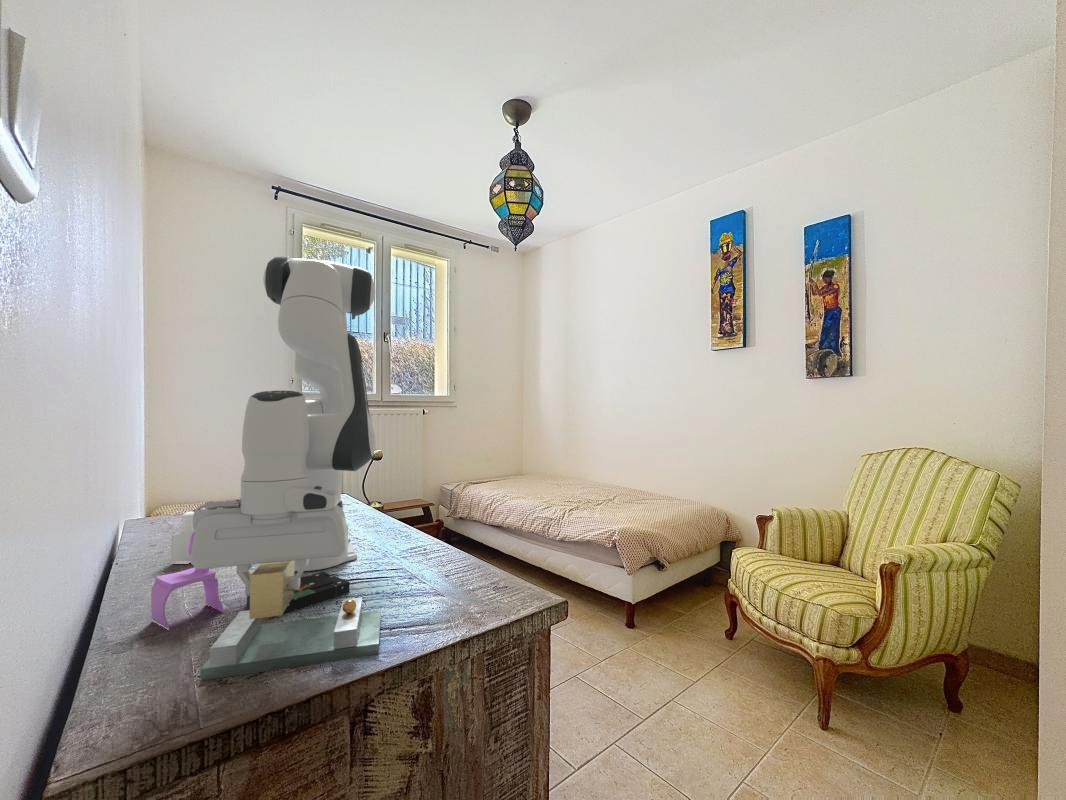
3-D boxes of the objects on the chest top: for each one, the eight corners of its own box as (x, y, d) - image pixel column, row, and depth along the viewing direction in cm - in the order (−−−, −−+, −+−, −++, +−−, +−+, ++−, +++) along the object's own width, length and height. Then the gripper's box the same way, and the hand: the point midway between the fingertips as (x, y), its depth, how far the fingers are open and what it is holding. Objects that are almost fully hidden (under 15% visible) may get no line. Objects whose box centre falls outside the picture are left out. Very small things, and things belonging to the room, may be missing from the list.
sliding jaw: (343, 614, 74) (343, 587, 75) (362, 611, 75) (362, 585, 76) (333, 649, 63) (334, 617, 63) (356, 646, 64) (356, 614, 64)
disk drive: (322, 584, 94) (245, 607, 82) (323, 571, 94) (245, 592, 82) (350, 595, 88) (271, 622, 76) (351, 581, 88) (271, 605, 76)
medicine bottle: (190, 556, 112) (191, 508, 113) (220, 555, 113) (221, 507, 113) (170, 565, 105) (172, 514, 105) (202, 564, 106) (204, 513, 106)
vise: (232, 638, 70) (232, 612, 70) (380, 619, 76) (381, 595, 76) (200, 680, 58) (201, 649, 58) (378, 654, 65) (378, 626, 65)
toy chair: (146, 621, 76) (149, 532, 76) (205, 603, 83) (208, 522, 84) (166, 633, 71) (169, 538, 72) (227, 613, 79) (229, 527, 79)
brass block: (249, 619, 62) (250, 575, 62) (265, 597, 69) (266, 558, 70) (281, 615, 63) (282, 572, 63) (293, 594, 70) (294, 556, 71)
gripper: (183, 505, 61) (180, 609, 60) (345, 496, 67) (344, 590, 66) (202, 498, 67) (199, 592, 66) (349, 491, 73) (348, 577, 72)
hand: (273, 591), depth 66 cm, fingers closed on brass block, 4 cm apart
